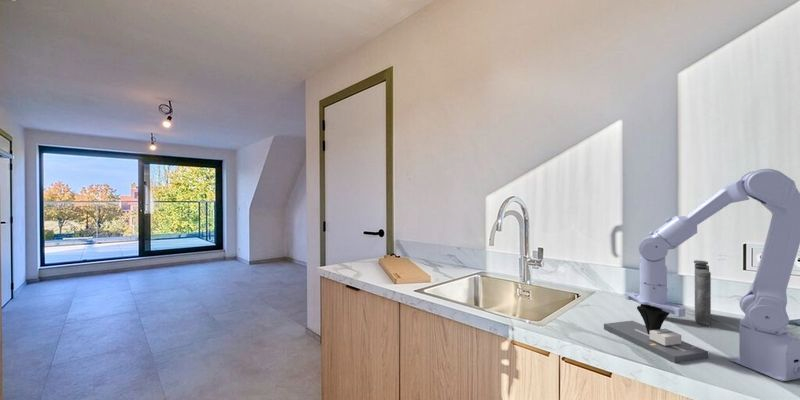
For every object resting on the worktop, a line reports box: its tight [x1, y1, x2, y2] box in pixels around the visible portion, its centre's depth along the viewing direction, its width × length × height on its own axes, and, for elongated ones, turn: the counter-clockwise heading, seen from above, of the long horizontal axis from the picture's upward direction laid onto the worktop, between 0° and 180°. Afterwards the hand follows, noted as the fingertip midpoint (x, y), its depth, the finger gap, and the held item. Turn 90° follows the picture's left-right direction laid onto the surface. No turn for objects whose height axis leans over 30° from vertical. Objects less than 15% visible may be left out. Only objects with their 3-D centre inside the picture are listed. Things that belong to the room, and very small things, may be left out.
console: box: [603, 320, 709, 364], centre depth 87 cm, size 20×10×2 cm, turn 12°
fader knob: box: [650, 328, 682, 346], centre depth 83 cm, size 4×5×2 cm
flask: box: [693, 259, 712, 328], centre depth 102 cm, size 4×14×18 cm, turn 139°
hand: (653, 334), depth 87 cm, fingers closed
